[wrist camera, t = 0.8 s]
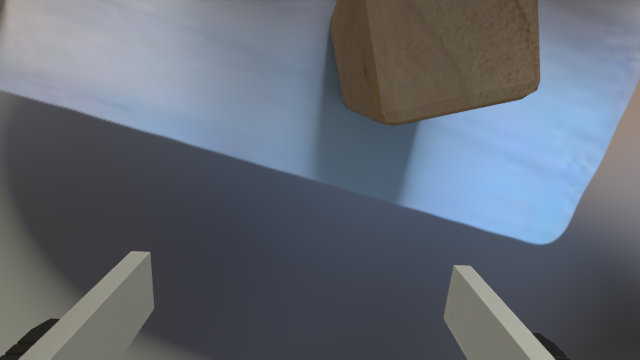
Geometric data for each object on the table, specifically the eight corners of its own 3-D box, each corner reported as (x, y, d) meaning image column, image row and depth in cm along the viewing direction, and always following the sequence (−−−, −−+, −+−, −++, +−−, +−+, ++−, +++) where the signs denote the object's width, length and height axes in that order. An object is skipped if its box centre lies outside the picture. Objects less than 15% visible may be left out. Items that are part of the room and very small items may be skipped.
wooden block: (343, 110, 39) (381, 131, 20) (327, 18, 37) (351, -61, 18) (428, 92, 39) (549, 95, 20) (418, -2, 37) (544, -102, 17)
